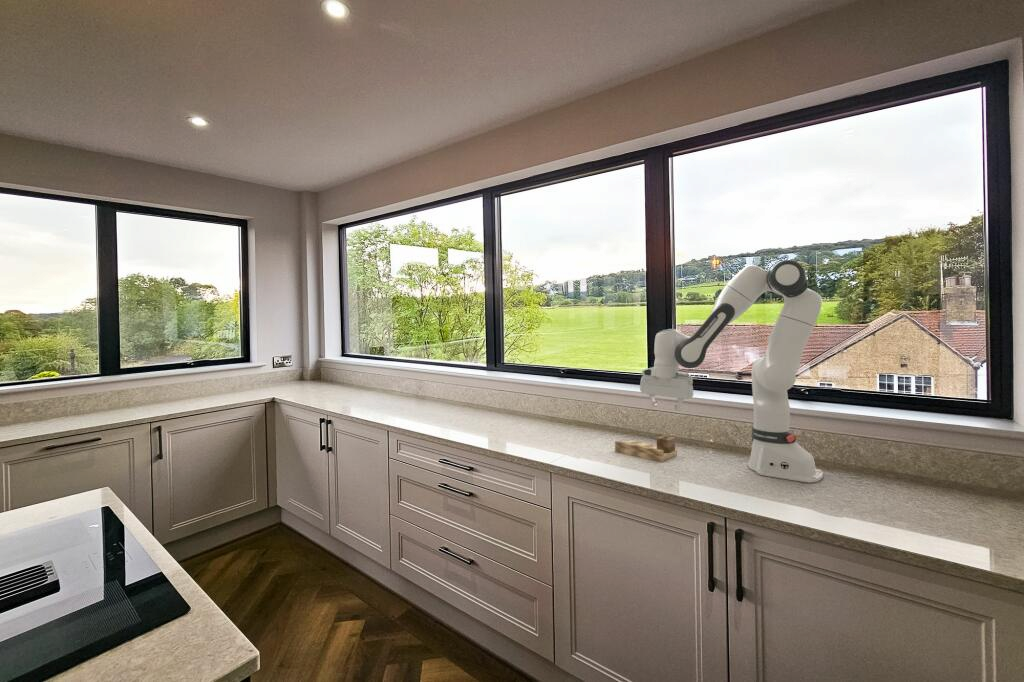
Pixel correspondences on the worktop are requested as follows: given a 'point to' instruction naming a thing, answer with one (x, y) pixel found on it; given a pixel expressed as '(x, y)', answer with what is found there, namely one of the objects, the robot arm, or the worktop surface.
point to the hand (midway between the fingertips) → (665, 407)
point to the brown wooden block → (666, 443)
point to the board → (643, 450)
